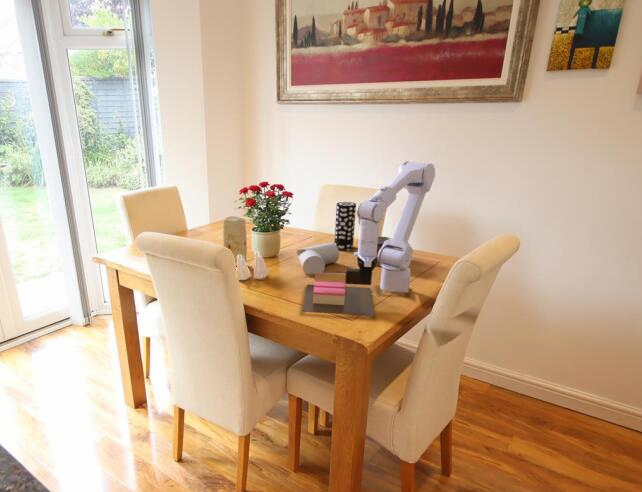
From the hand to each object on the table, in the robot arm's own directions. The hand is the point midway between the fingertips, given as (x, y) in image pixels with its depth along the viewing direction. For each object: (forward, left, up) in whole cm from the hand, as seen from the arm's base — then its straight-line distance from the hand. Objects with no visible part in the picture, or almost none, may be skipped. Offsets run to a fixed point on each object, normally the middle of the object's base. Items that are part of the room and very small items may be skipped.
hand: (364, 280), depth 148 cm
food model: (+50, -32, -9) cm, 60 cm away
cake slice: (+11, +2, -7) cm, 13 cm away
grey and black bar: (+7, 0, -1) cm, 7 cm away
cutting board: (+8, 0, -8) cm, 12 cm away
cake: (+11, -5, -7) cm, 14 cm away
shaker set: (+40, -17, -9) cm, 44 cm away
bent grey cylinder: (+16, -33, -9) cm, 38 cm away
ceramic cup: (-7, -43, -9) cm, 45 cm away
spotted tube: (+6, -61, -8) cm, 62 cm away
